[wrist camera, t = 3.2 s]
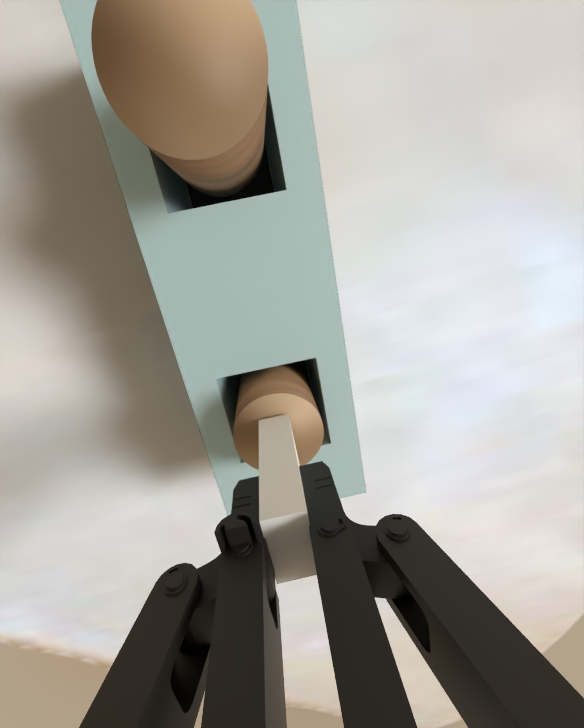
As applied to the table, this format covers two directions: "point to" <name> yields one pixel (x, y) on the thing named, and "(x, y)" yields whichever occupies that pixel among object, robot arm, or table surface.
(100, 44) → the peg
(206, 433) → the socket board
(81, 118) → the table surface
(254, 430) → the peg
